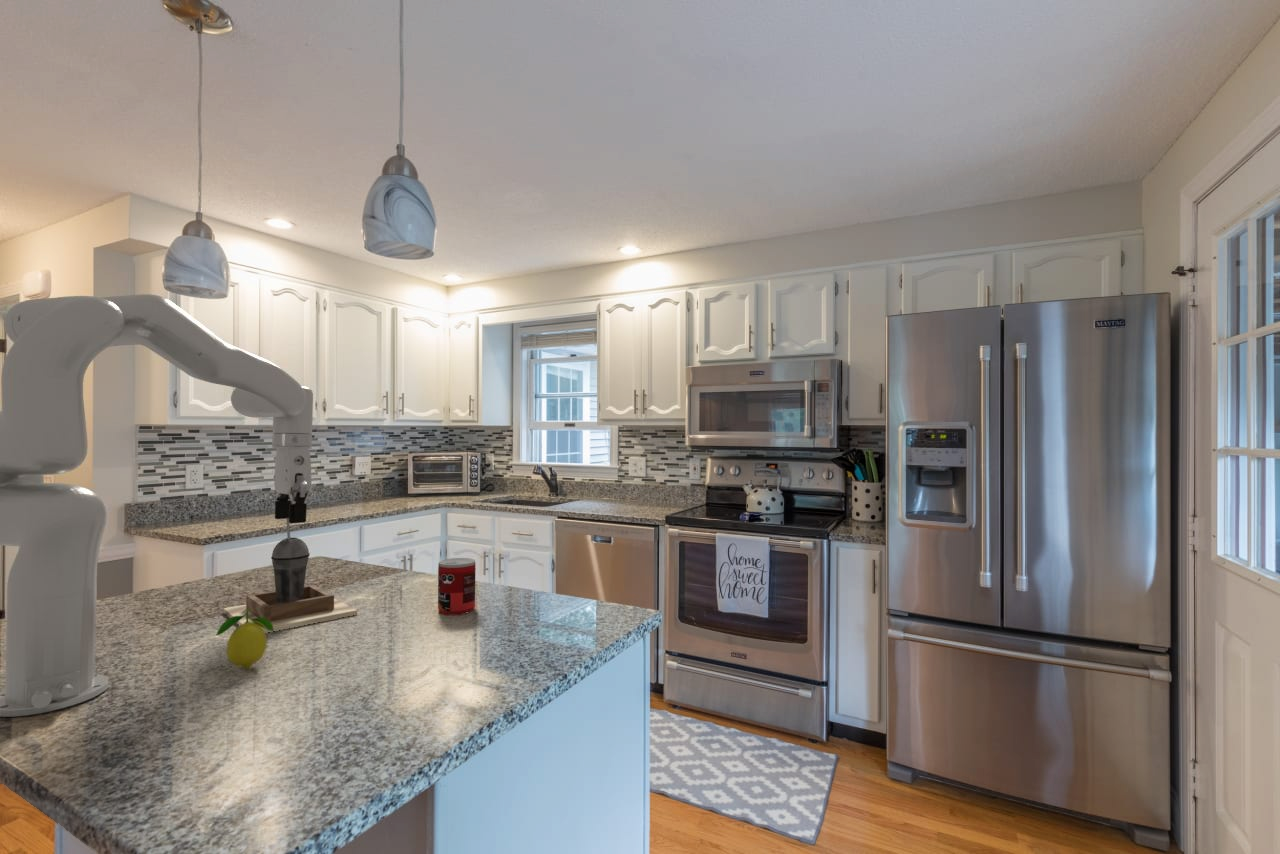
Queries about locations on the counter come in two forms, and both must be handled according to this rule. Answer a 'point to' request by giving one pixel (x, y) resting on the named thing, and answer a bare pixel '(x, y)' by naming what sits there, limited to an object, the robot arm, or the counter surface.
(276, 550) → the beverage cup
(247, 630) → the lemon
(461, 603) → the canned food
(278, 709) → the counter surface
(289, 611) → the cup holder
